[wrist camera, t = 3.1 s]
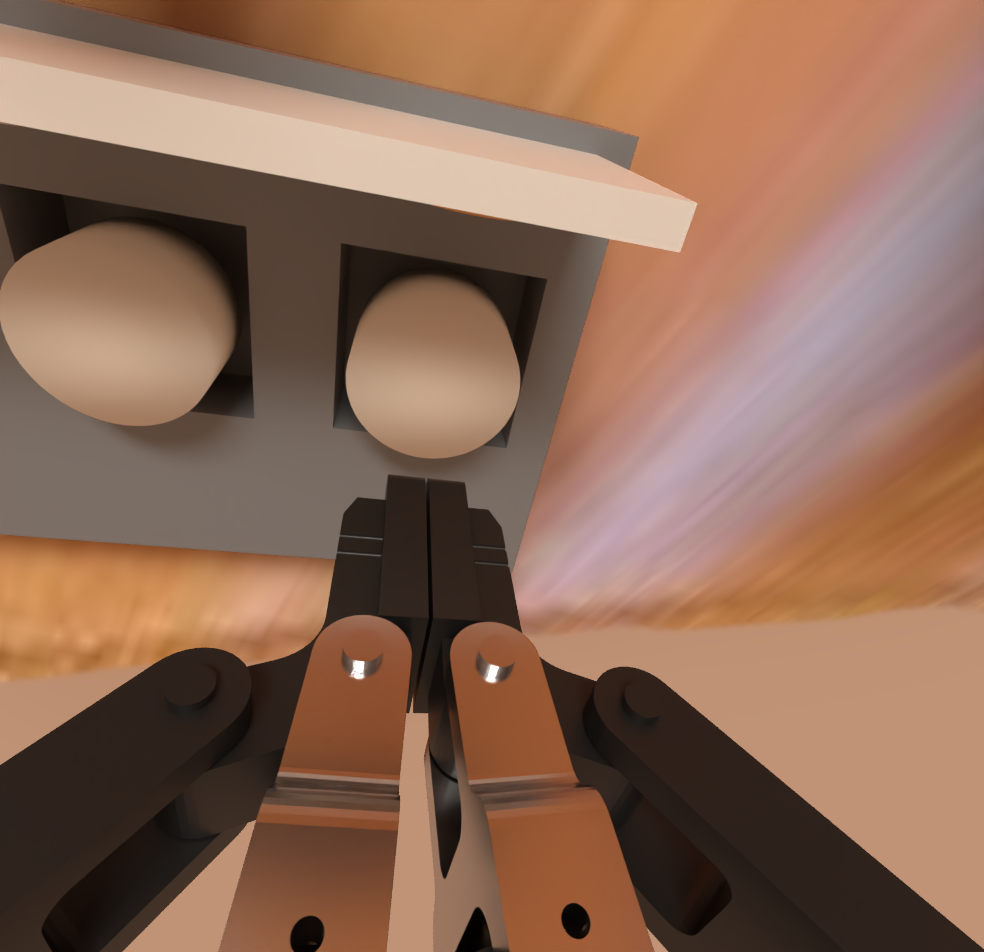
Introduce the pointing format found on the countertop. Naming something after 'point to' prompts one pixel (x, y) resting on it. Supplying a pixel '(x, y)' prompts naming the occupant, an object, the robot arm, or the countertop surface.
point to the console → (290, 269)
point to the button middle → (122, 320)
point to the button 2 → (432, 365)
